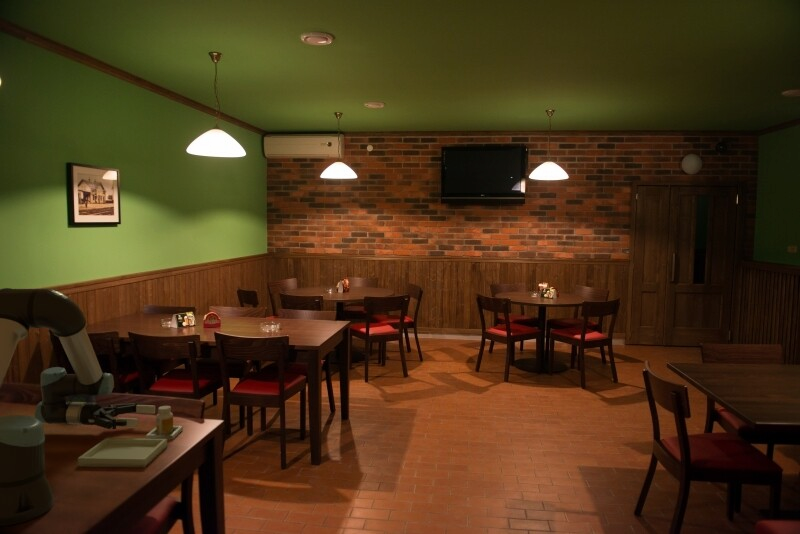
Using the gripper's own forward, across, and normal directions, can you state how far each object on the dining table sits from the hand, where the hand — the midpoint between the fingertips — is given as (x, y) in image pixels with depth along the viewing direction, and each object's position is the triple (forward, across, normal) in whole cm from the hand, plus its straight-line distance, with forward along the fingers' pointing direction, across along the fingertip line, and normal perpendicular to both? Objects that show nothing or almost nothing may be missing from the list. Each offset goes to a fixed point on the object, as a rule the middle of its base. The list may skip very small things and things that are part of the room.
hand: (146, 416), depth 191 cm
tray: (+2, +19, -6) cm, 20 cm away
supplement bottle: (+7, +1, -6) cm, 9 cm away
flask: (-32, -18, -7) cm, 37 cm away
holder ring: (+7, +1, -6) cm, 9 cm away
